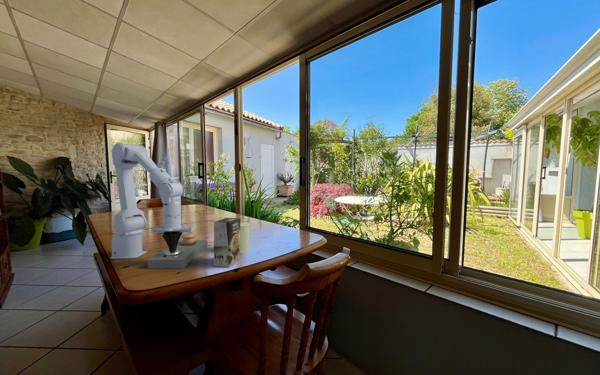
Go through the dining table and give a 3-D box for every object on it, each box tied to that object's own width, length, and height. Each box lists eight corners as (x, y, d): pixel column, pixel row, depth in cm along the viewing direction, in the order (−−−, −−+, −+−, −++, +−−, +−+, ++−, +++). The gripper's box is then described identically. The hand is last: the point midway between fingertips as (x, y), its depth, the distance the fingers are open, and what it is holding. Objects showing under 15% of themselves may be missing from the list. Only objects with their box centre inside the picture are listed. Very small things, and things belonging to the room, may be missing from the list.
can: (252, 247, 109) (252, 221, 109) (244, 254, 100) (244, 225, 100) (233, 246, 111) (233, 220, 110) (223, 252, 102) (223, 224, 101)
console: (147, 268, 84) (147, 259, 84) (180, 247, 109) (180, 240, 109) (183, 268, 85) (182, 259, 84) (207, 246, 109) (207, 240, 109)
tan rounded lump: (179, 246, 101) (179, 236, 101) (185, 242, 106) (185, 233, 106) (192, 246, 101) (192, 236, 101) (197, 242, 106) (197, 233, 106)
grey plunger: (162, 264, 87) (161, 253, 87) (169, 259, 92) (169, 249, 92) (176, 264, 87) (176, 253, 87) (183, 259, 92) (183, 249, 92)
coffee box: (229, 267, 85) (229, 222, 85) (213, 266, 87) (212, 221, 86) (241, 259, 94) (241, 217, 94) (225, 257, 96) (225, 217, 95)
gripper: (145, 217, 85) (146, 255, 85) (187, 217, 85) (188, 255, 86) (156, 213, 92) (157, 249, 92) (195, 213, 92) (196, 249, 93)
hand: (172, 251), depth 90 cm, fingers closed, pressing on grey plunger
